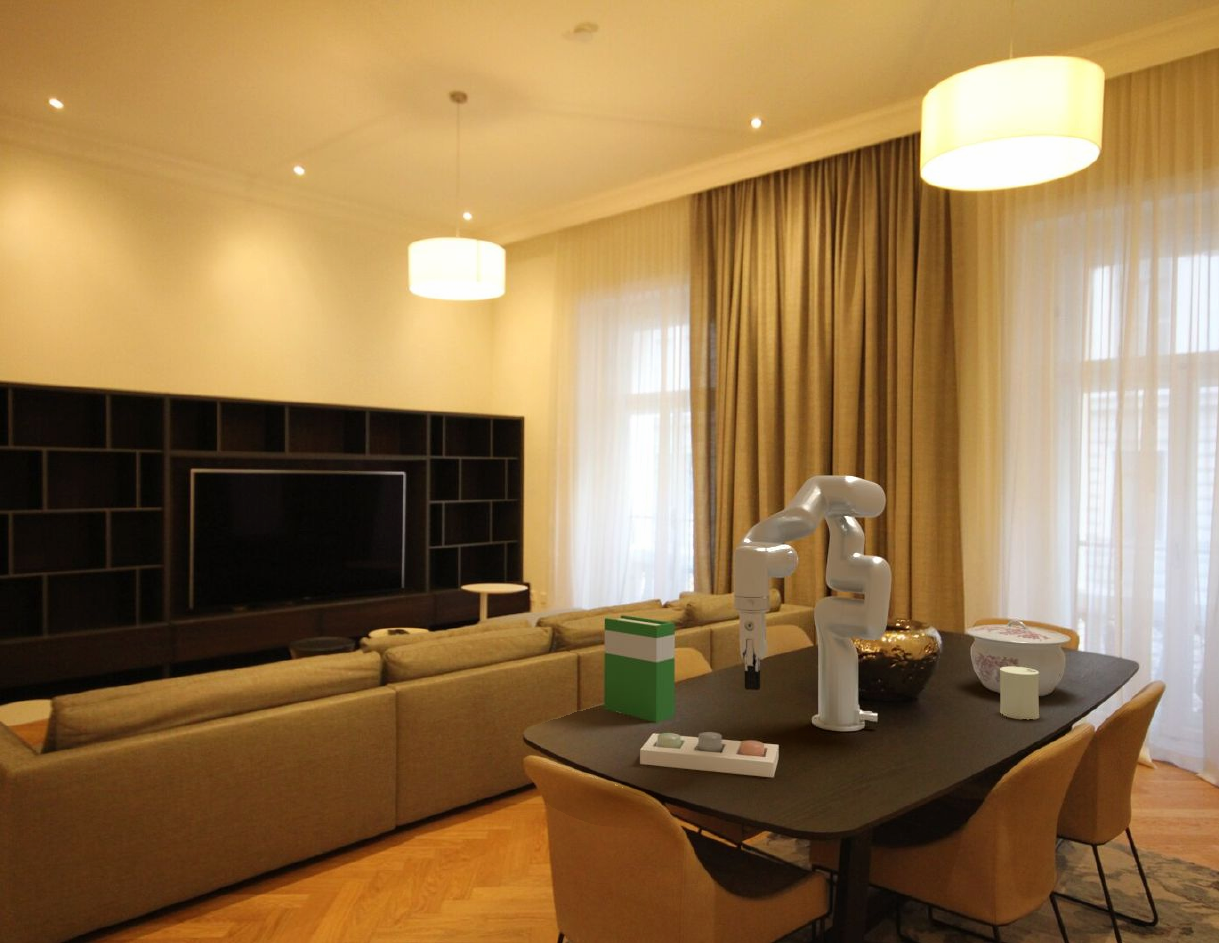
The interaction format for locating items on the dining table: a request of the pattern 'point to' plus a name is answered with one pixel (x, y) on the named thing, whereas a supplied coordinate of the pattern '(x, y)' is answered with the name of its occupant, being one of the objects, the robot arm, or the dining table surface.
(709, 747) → the grey button
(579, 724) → the dining table surface
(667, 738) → the sage button
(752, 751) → the terracotta button
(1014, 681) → the can
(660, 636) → the hardback book
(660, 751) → the button panel
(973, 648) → the chamber pot
